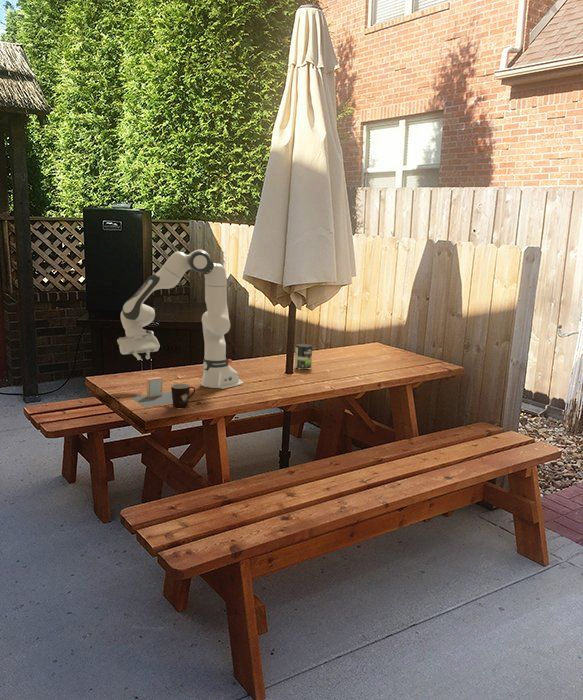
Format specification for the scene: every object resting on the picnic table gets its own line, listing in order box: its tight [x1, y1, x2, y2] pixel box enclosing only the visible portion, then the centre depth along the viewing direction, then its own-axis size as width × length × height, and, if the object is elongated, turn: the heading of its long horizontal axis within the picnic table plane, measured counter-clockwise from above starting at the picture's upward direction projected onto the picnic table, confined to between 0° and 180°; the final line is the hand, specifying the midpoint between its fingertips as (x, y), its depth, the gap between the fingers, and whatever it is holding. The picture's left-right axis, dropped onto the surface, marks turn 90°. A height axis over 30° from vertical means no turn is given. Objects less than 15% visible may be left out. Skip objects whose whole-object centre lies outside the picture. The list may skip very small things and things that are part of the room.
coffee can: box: [294, 343, 313, 370], centre depth 382 cm, size 10×10×14 cm
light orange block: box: [146, 376, 163, 398], centre depth 310 cm, size 7×3×9 cm, turn 126°
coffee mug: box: [170, 383, 196, 409], centre depth 297 cm, size 12×9×10 cm
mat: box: [129, 390, 173, 408], centre depth 307 cm, size 22×18×1 cm
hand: (143, 359), depth 317 cm, fingers open, 3 cm apart
